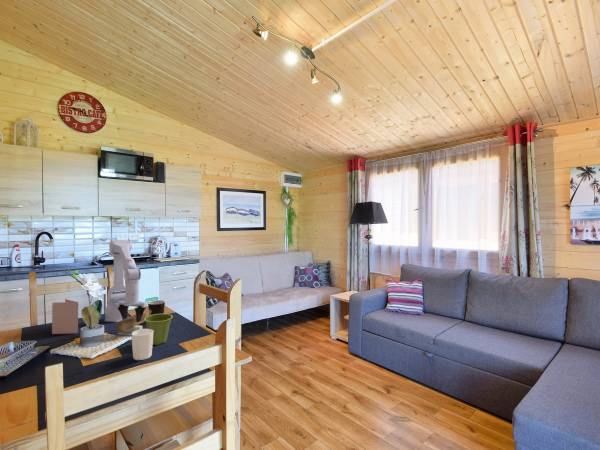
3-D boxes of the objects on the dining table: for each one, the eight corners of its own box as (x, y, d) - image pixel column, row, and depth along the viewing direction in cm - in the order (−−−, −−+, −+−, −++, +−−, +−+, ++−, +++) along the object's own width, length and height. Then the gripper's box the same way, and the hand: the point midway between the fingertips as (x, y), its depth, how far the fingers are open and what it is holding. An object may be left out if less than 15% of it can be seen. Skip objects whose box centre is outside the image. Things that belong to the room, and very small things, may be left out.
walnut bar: (116, 330, 149) (116, 322, 149) (139, 320, 165) (139, 312, 165) (123, 331, 148) (123, 323, 148) (145, 321, 164) (145, 313, 164)
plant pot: (145, 349, 137) (146, 323, 137) (142, 340, 147) (142, 315, 147) (174, 343, 143) (175, 318, 143) (169, 335, 153) (169, 312, 153)
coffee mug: (147, 319, 178) (148, 301, 177) (164, 317, 181) (164, 299, 181) (147, 325, 167) (147, 306, 167) (165, 323, 171) (165, 304, 171)
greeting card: (79, 332, 155) (80, 301, 155) (62, 337, 148) (63, 305, 148) (66, 328, 160) (67, 298, 160) (49, 333, 154) (49, 302, 153)
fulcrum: (115, 334, 153) (115, 327, 153) (129, 328, 162) (129, 322, 162) (134, 336, 151) (134, 329, 151) (146, 330, 160) (146, 323, 160)
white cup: (147, 351, 135) (147, 327, 135) (156, 356, 130) (157, 331, 130) (128, 357, 129) (128, 332, 129) (136, 362, 124) (137, 337, 124)
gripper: (112, 294, 154) (112, 322, 154) (139, 296, 151) (139, 324, 151) (123, 291, 161) (123, 317, 161) (149, 292, 158) (149, 320, 158)
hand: (131, 320), depth 157 cm, fingers open, 7 cm apart
